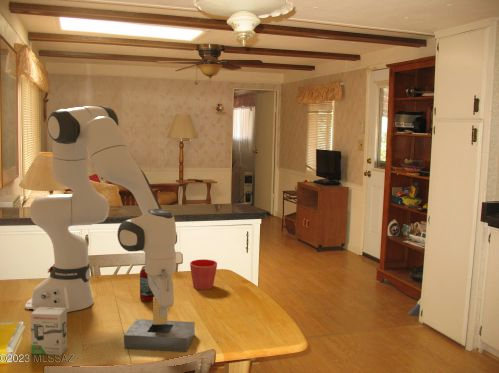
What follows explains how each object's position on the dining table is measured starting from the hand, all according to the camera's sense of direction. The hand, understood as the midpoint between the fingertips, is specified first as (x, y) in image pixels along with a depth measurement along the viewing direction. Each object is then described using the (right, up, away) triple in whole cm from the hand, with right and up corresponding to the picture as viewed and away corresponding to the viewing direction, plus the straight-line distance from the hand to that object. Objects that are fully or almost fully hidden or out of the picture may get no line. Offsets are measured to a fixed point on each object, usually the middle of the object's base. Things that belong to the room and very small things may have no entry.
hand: (160, 311), depth 148 cm
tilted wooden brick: (0, -3, 0) cm, 3 cm away
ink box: (-30, -10, -7) cm, 32 cm away
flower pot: (+8, -3, +52) cm, 53 cm away
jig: (0, -9, +1) cm, 9 cm away
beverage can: (-10, -5, +37) cm, 38 cm away
